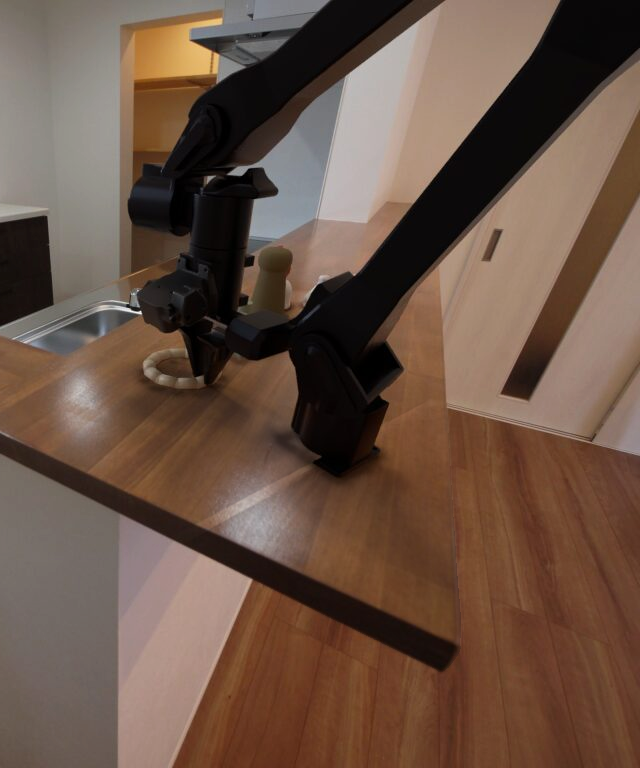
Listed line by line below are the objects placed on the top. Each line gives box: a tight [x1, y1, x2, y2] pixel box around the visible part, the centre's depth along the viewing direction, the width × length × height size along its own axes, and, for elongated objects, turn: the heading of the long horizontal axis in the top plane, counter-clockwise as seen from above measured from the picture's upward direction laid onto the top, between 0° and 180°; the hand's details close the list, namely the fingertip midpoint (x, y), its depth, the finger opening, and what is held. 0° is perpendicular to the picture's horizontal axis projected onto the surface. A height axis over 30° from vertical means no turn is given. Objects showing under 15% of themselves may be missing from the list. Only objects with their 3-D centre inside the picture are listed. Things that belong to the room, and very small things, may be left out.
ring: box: [142, 347, 223, 390], centre depth 53 cm, size 10×10×2 cm
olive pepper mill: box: [250, 246, 294, 317], centre depth 69 cm, size 6×6×11 cm
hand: (203, 380), depth 50 cm, fingers closed on ring, 1 cm apart
